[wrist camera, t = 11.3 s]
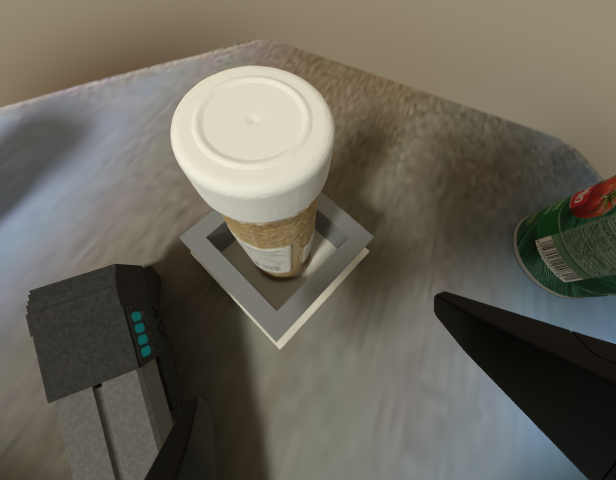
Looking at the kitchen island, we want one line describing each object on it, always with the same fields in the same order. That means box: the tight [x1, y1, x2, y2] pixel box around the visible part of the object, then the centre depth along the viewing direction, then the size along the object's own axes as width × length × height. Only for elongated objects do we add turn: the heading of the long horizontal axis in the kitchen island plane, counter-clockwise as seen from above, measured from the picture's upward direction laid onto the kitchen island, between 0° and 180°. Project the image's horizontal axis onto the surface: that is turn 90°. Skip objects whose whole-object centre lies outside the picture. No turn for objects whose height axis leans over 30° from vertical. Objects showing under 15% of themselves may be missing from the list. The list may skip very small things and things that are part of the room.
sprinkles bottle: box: [171, 66, 335, 282], centre depth 13 cm, size 5×5×14 cm
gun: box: [26, 264, 183, 480], centre depth 15 cm, size 4×20×10 cm, turn 21°
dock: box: [179, 192, 374, 349], centre depth 18 cm, size 10×10×4 cm
